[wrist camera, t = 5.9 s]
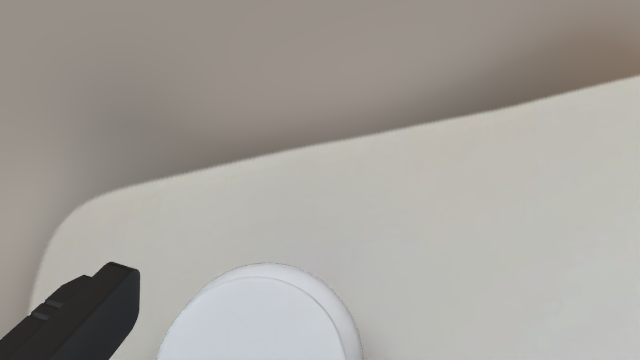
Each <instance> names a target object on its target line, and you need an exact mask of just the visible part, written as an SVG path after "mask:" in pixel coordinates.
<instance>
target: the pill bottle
mask: <svg viewBox="0 0 640 360" xmlns="http://www.w3.org/2000/svg"><path fill="white" fill-rule="evenodd" d="M157 360H363V351H362V345H361V340H360V336H359V333H358V330H357V327H356V325H355V322H354V320H353V318H352V316H351V314H350V312H349V310H348V309H347V307H346V306H345V304H344V303H343V301H342V300H341V299H340V297H339V296H338V295H337V294H336V293H335V292H334V291H333V290H332V289H331V288H330V287H329V286H328V285H327V284H326V283H324V282H323V281H322V280H320V279H319V278H317V277H315V276H314V275H312V274H310V273H308V272H306V271H304V270H302V269H299V268H297V267H293V266H290V265H284V264H278V263H257V264H251V265H246V266H242V267H239V268H236V269H233V270H231V271H228V272H226V273H224V274H222V275H220V276H219V277H217V278H215V279H214V280H212V281H211V282H209V283H208V284H207V285H206V286H204V287H203V288H202V289H201V290H200V291H199V292H198V293H197V294H196V295H195V296H194V297H193V298H192V299H191V300H190V302H189V303H188V304H187V306H186V307H185V308H184V310H183V311H182V312H181V313H180V315H179V316H178V317H177V318H176V320H175V321H174V322H173V324H172V325H171V327H170V329H169V330H168V332H167V334H166V336H165V338H164V340H163V342H162V344H161V347H160V350H159V353H158V356H157Z"/></svg>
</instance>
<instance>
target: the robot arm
mask: <svg viewBox="0 0 640 360" xmlns="http://www.w3.org/2000/svg"><path fill="white" fill-rule="evenodd" d="M139 301H140V272H139V270H137V269H134V268H131V267H127V266H124V265H121V264H118V263H114V262H109V263H107V264H106V265H104V266H103V267H102V268H101V269H100V270H99V271H98V272H97V273H96V274H95V275H94V276H93V277H89V276H86V275H82V276H80V277H78V278H76V279H74V280H72V281H70V282H68V283H66V284H64V285H62V286H61V287H60V288H58V289H57V290H56V291H55V292H54V293H53V294H52V295H51V296H49V297H48V298H47V299H46V300H45V302H44V303H42V304H40V305H39V306H38V307H37V308H36V309H35V310H34V311H32V312H31V315H30V316H27V317H26V318H25V319H24V320H22V321H21V322H20V323H19V324H18V325H17V326H16V327H15V328H13V329H12V330H11V331H10V332H9V333H8V334H7V335H5V336H4V337H3V338H2V339H1V340H0V360H109V359H110V357H111V356H112V355H113V354H114V352H115V351H116V350H117V349H118V347H119V346H120V345H121V343H122V342H123V341H124V340H125V338H126V337H127V336H128V334H129V333H130V332H131V330H132V329H133V327H134V325H135V323H136V320H137V317H138V314H139Z"/></svg>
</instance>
